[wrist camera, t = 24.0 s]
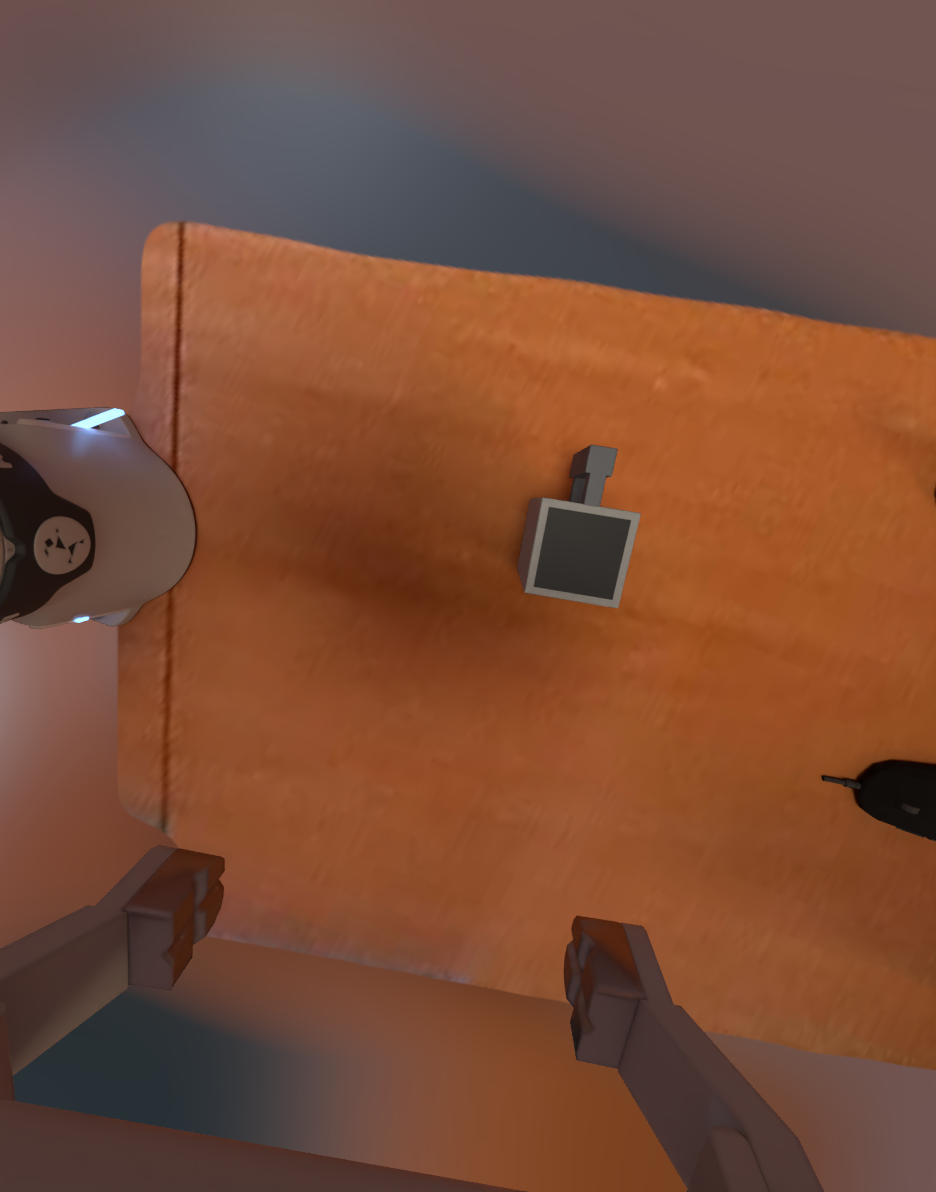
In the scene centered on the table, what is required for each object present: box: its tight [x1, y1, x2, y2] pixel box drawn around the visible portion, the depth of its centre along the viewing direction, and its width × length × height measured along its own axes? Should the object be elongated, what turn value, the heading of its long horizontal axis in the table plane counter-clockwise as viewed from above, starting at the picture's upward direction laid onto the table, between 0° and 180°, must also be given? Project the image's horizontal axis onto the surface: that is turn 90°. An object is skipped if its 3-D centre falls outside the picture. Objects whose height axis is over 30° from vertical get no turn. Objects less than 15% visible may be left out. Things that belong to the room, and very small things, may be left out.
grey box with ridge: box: [517, 445, 641, 608], centre depth 32 cm, size 10×6×9 cm
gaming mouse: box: [822, 762, 936, 841], centre depth 38 cm, size 6×15×4 cm, turn 82°
